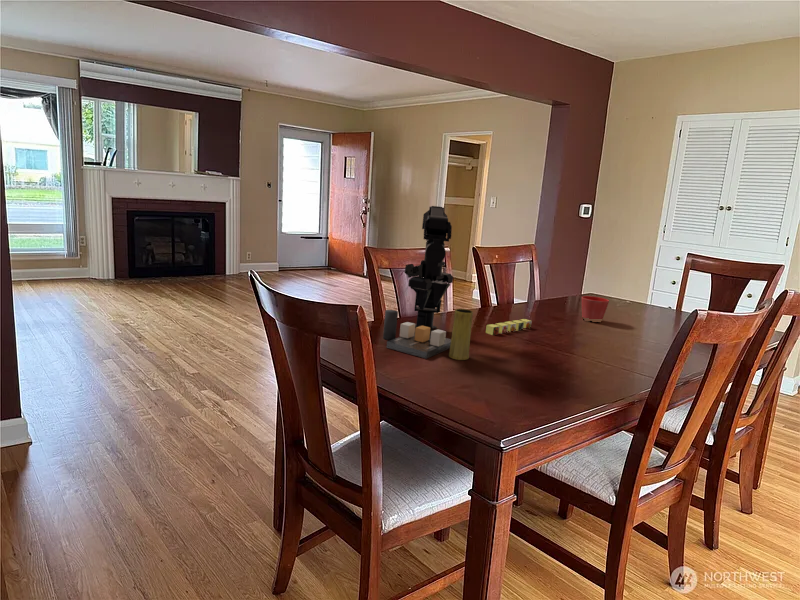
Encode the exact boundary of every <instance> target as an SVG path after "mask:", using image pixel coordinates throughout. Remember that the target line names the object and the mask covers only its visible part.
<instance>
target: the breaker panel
mask: <svg viewBox="0 0 800 600" xmlns="http://www.w3.org/2000/svg"><path fill="white" fill-rule="evenodd" d="M430 339H431V333H430V338H429V340H428V341H425V342H419V341H416V340H415V333H414V336H413V337H410V338H404V337H400V336H398V337H396V338H395V339H392V340H387V341H386V349H390V350H394V351H397V352H401V353H403V354H404V353H405V354H408V355H411V356H414V357H415V356H416V357H418V358H422V359H425V360H426V359H430V358H431V357H433V356H436V355H438V354H440V353H442V352H445V351H447V350H450V344H451V338H447V337H446V338H445V344H443V345H441V346H439V347H438V346H435V345H431V344H430Z"/></svg>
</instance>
